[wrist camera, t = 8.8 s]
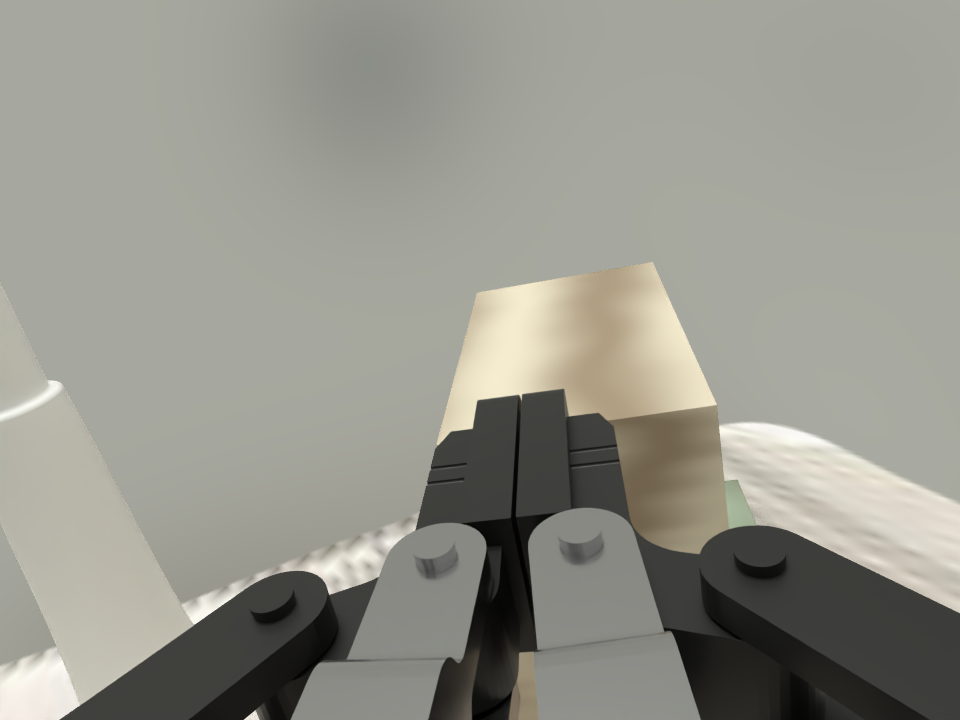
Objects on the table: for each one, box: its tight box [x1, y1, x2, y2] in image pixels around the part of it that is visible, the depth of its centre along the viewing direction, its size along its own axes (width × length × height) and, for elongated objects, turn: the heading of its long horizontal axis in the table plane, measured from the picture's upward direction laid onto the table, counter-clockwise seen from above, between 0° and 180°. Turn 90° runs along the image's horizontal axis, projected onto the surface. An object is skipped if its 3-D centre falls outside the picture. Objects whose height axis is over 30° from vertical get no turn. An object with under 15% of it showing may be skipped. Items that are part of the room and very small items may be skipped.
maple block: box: [437, 262, 729, 720], centre depth 30 cm, size 8×14×12 cm, turn 174°
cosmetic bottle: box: [0, 282, 194, 705], centre depth 29 cm, size 6×6×22 cm
